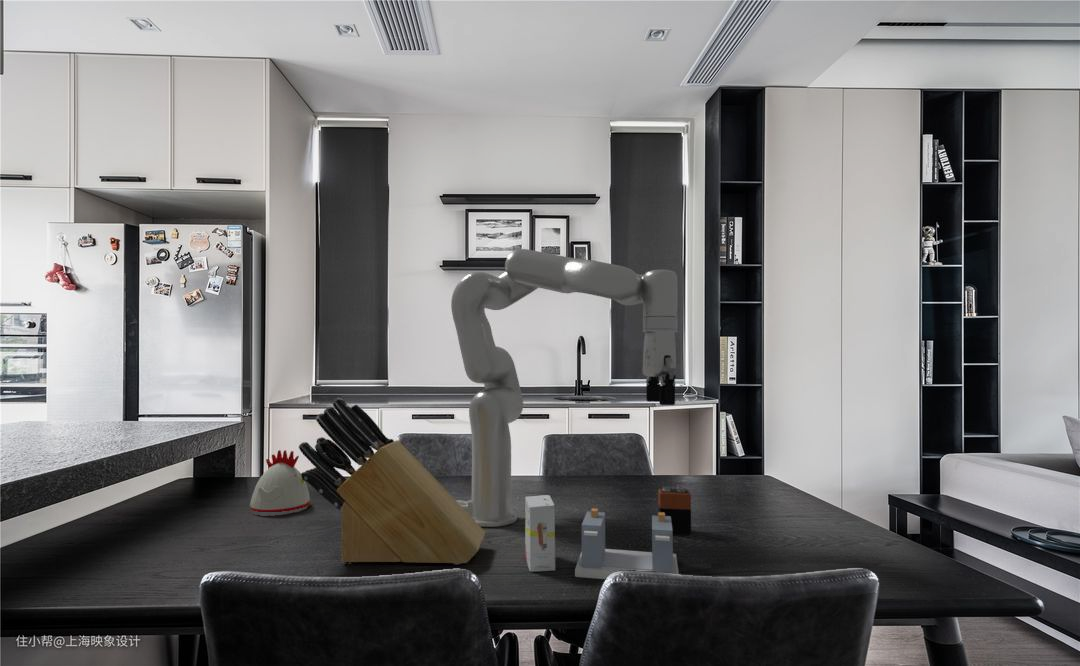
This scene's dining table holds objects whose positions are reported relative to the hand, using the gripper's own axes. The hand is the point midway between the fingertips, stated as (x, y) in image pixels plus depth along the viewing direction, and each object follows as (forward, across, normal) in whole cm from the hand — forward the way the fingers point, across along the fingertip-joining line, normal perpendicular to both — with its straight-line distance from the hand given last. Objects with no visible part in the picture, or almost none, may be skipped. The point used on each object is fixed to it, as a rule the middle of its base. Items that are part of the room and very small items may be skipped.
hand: (660, 403), depth 119 cm
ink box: (+30, +13, -28) cm, 42 cm away
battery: (+29, -3, +4) cm, 30 cm away
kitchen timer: (+30, -30, -91) cm, 100 cm away
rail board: (+29, +17, -12) cm, 36 cm away
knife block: (+30, +7, -56) cm, 64 cm away
